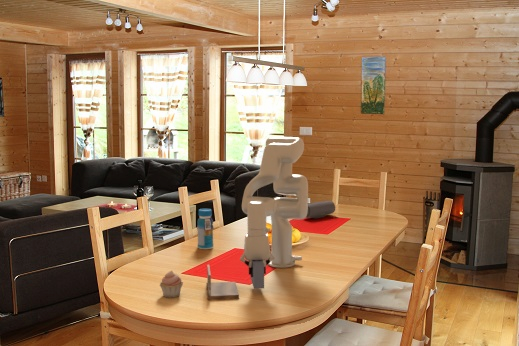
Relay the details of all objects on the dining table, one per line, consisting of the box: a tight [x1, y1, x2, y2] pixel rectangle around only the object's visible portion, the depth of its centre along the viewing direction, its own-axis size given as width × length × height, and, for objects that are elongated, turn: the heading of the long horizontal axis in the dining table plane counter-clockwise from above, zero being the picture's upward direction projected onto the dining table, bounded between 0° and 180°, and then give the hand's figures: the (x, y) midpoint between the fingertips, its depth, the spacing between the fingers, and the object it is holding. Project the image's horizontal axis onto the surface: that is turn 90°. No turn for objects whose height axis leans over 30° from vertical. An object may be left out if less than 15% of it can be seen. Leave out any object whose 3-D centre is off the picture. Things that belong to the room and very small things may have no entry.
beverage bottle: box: [196, 208, 214, 250], centre depth 298 cm, size 8×8×20 cm
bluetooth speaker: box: [305, 200, 336, 220], centre depth 374 cm, size 23×9×10 cm, turn 130°
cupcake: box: [159, 270, 184, 299], centre depth 228 cm, size 9×9×10 cm
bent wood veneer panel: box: [205, 264, 240, 301], centre depth 232 cm, size 12×16×10 cm
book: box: [250, 260, 265, 290], centre depth 234 cm, size 4×12×10 cm, turn 7°
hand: (257, 275), depth 234 cm, fingers closed on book, 4 cm apart
